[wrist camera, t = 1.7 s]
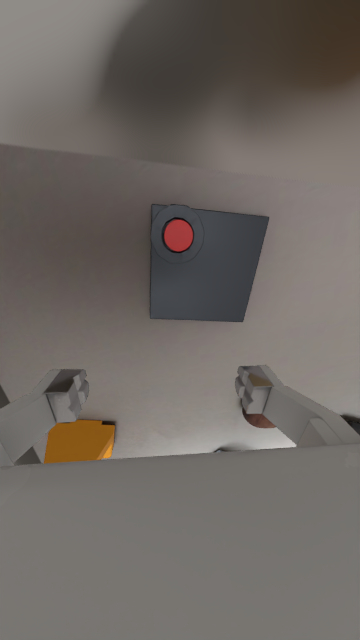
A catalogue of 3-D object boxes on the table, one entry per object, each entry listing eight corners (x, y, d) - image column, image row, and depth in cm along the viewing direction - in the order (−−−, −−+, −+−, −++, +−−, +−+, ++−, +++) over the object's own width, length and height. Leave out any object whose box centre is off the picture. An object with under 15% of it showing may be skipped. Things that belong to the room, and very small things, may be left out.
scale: (150, 315, 27) (149, 324, 24) (152, 205, 21) (150, 200, 18) (240, 319, 28) (248, 327, 26) (264, 217, 23) (278, 215, 20)
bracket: (59, 442, 37) (16, 529, 26) (56, 418, 34) (7, 504, 23) (114, 444, 39) (95, 525, 28) (115, 421, 36) (95, 502, 25)
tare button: (163, 249, 21) (163, 250, 19) (164, 219, 19) (164, 218, 18) (189, 251, 21) (191, 252, 19) (192, 222, 20) (194, 221, 18)
